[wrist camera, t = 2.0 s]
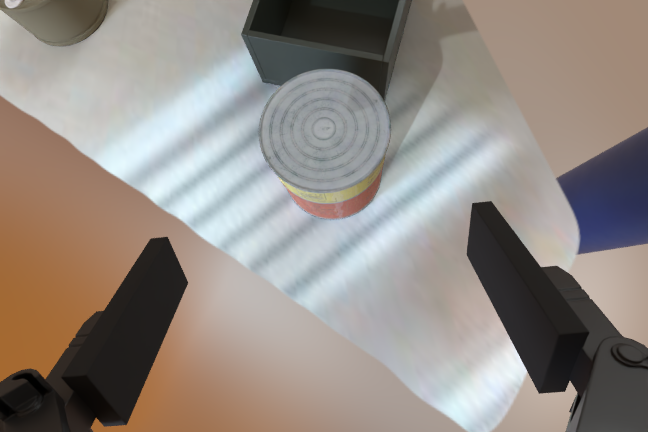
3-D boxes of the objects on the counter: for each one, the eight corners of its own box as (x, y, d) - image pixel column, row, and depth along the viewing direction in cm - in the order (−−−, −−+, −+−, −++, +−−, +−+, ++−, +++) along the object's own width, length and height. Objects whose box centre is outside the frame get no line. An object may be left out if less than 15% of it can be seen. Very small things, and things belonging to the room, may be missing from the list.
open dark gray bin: (412, -3, 46) (424, -69, 38) (383, 107, 44) (389, 63, 35) (296, -22, 48) (283, -88, 40) (262, 82, 46) (240, 34, 37)
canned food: (337, 109, 44) (329, 44, 33) (402, 174, 42) (419, 130, 30) (266, 169, 44) (232, 125, 32) (328, 239, 41) (317, 220, 30)
